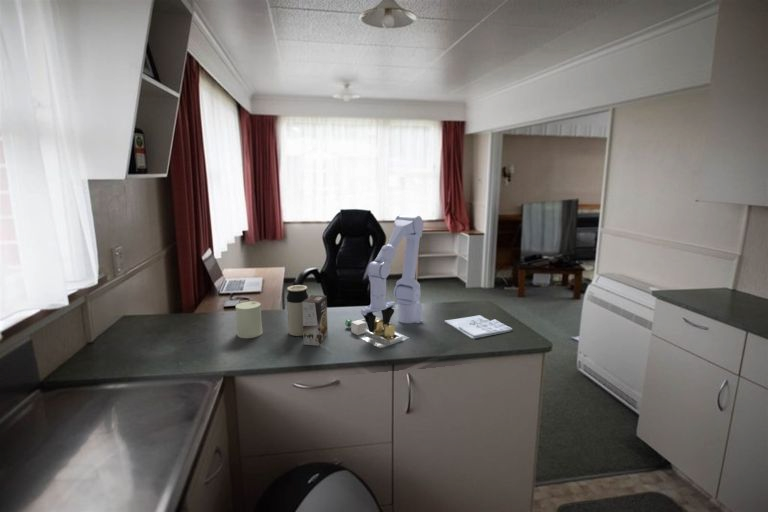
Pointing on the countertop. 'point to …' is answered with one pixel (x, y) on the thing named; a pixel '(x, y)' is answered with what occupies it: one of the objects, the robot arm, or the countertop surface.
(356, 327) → the white block
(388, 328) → the billet
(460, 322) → the white printed book
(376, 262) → the robot arm
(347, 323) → the knob
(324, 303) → the coffee box
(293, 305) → the travel mug
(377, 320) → the cylinder
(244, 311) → the can
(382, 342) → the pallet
